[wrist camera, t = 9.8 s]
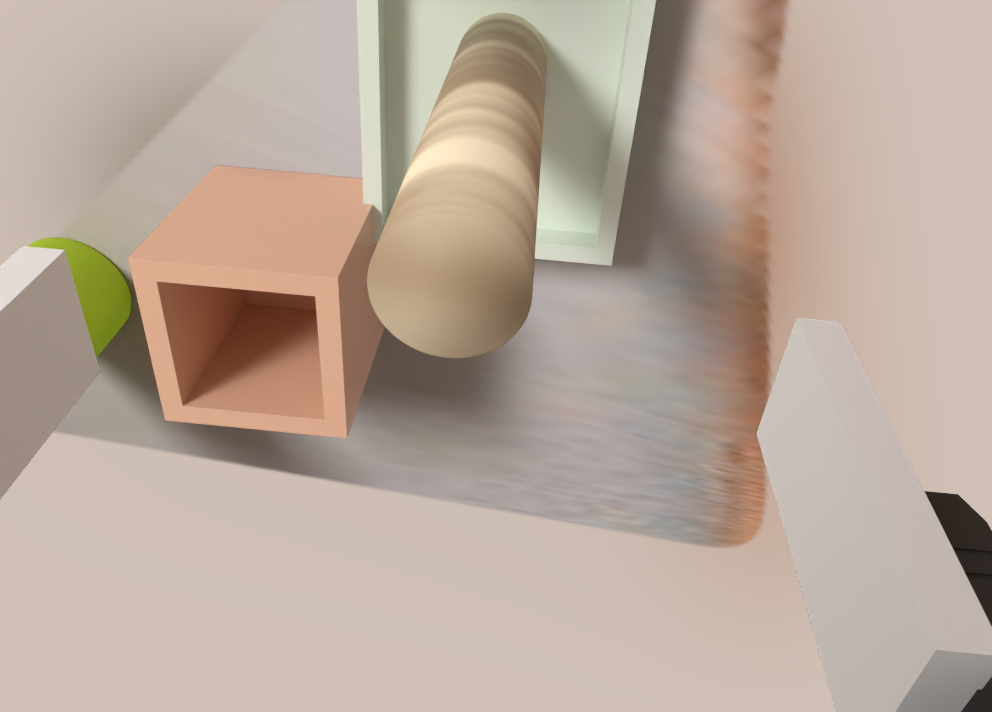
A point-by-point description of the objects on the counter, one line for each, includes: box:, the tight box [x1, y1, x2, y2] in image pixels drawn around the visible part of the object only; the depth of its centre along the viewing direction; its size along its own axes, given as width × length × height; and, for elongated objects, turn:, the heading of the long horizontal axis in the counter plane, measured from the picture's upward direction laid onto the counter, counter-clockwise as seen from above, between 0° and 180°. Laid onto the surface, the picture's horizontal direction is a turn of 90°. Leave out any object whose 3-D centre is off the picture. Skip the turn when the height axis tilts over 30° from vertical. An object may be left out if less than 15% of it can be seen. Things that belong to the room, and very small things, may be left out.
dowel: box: [367, 13, 547, 358], centre depth 25 cm, size 4×4×18 cm
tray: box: [357, 0, 656, 266], centre depth 32 cm, size 16×11×3 cm
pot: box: [128, 165, 385, 438], centre depth 35 cm, size 8×8×9 cm
